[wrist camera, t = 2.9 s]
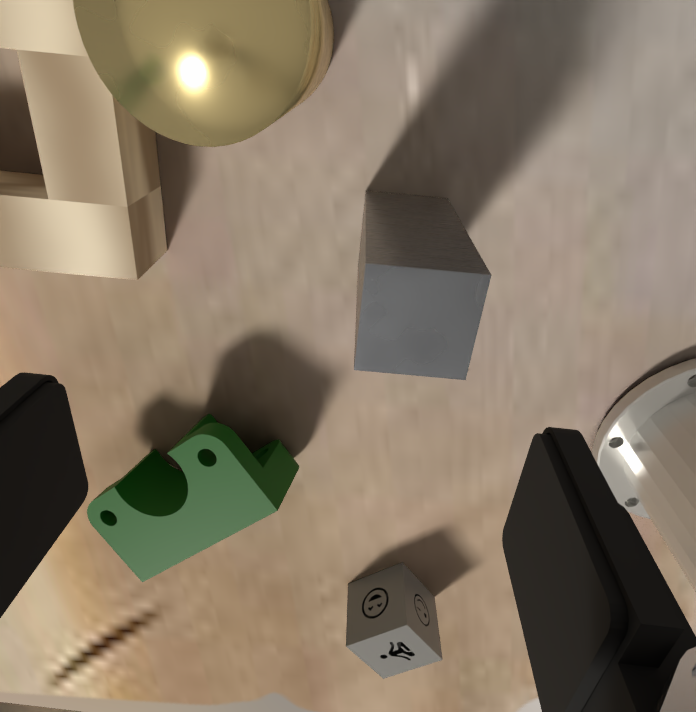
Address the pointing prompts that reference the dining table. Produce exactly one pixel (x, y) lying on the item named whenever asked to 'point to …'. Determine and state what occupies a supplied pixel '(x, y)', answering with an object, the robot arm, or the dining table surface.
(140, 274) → the socket block
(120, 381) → the dining table surface
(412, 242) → the square bit
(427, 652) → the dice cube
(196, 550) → the clamp
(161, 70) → the round bit
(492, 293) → the dining table surface
